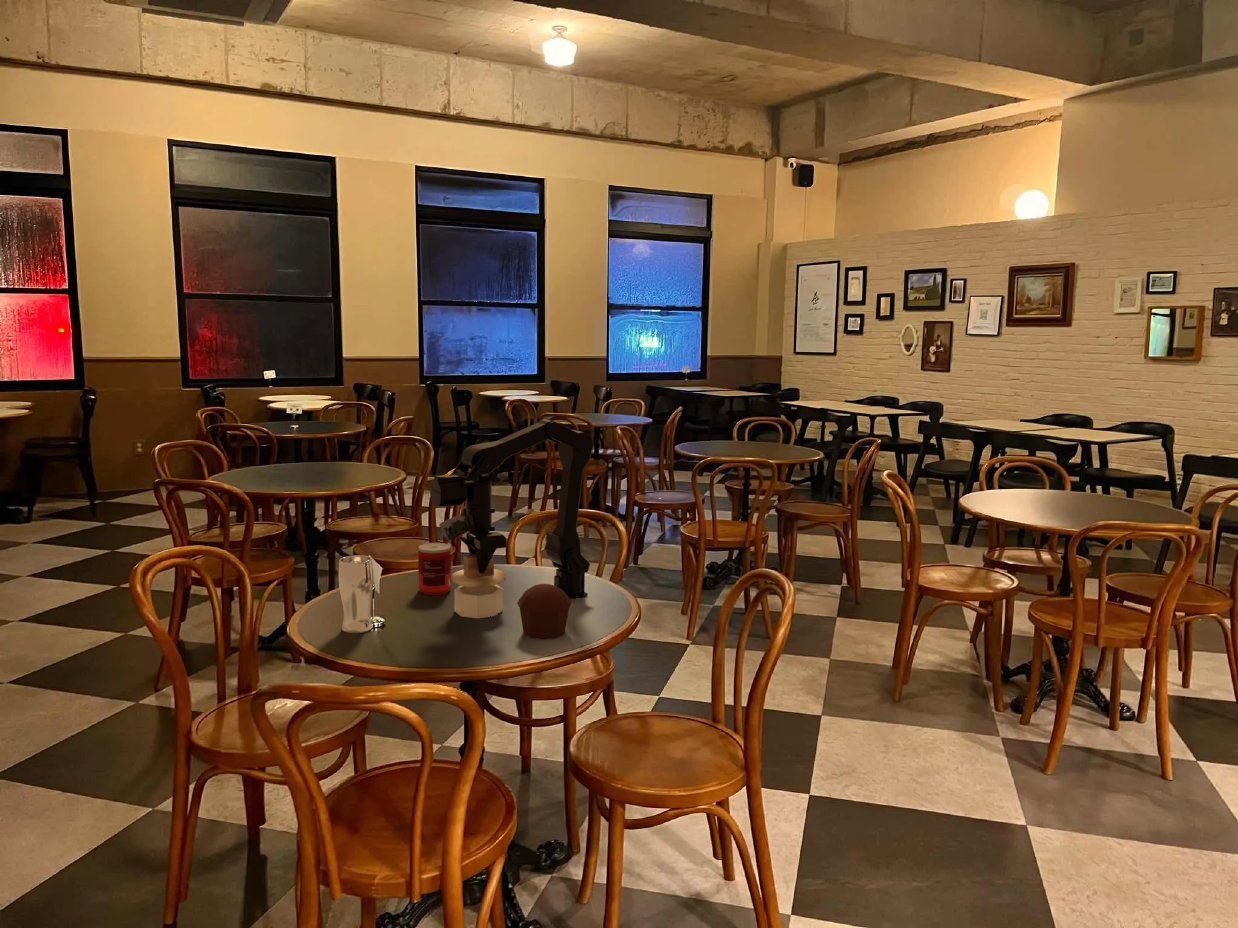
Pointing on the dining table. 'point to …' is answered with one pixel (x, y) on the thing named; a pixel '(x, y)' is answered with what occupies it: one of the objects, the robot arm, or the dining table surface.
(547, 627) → the muffin
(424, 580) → the canned food
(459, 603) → the hollow octagonal cup
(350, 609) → the beer glass
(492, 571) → the lid
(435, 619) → the dining table surface
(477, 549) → the robot arm
